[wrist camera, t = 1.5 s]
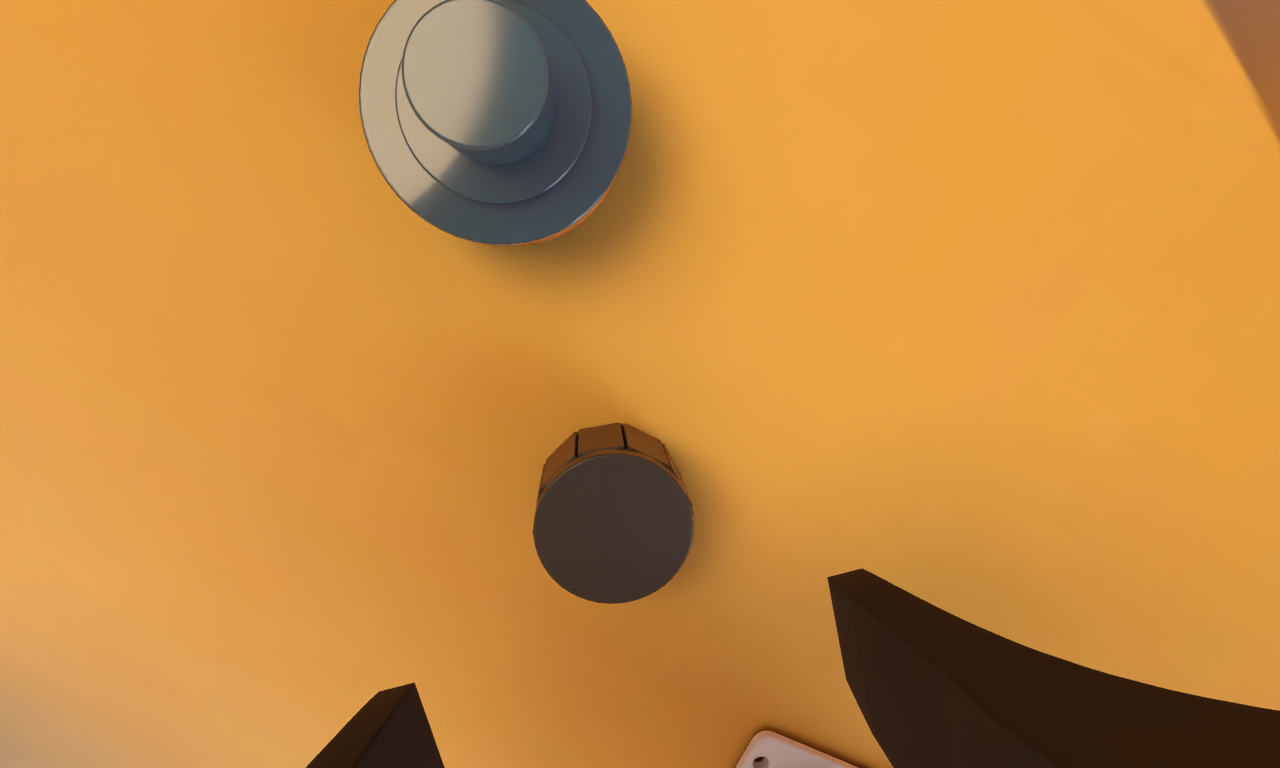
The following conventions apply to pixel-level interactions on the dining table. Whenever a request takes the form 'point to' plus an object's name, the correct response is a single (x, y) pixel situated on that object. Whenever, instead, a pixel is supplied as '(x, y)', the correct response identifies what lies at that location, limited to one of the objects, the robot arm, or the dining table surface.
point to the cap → (612, 515)
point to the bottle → (496, 114)
